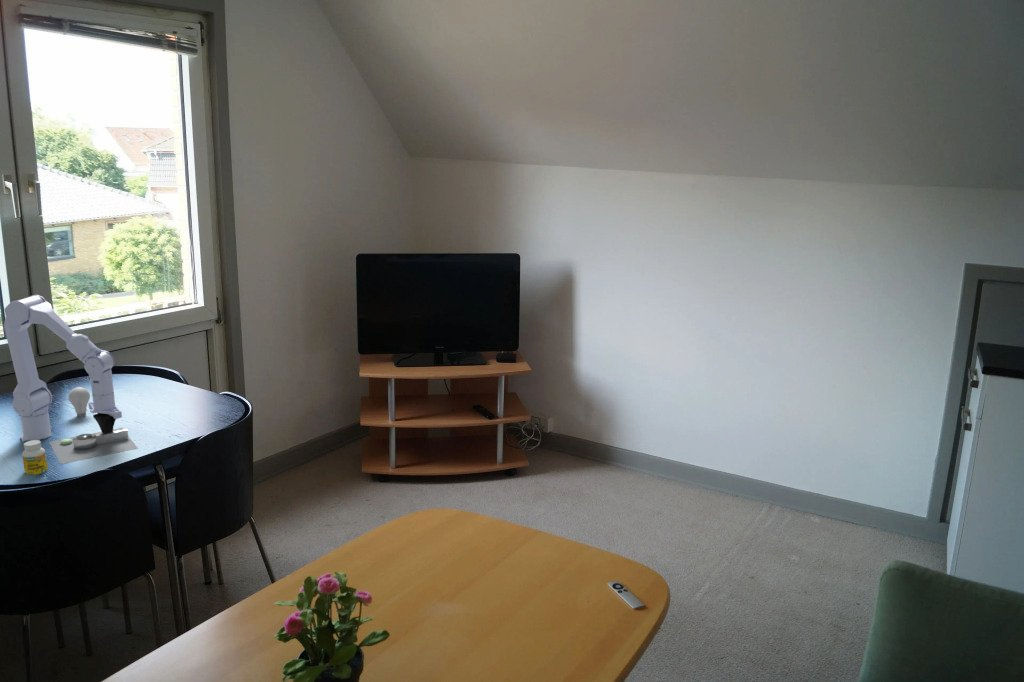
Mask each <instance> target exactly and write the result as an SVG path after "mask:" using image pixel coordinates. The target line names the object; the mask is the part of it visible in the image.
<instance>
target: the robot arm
mask: <svg viewBox="0 0 1024 682" xmlns="http://www.w3.org/2000/svg"><path fill="white" fill-rule="evenodd" d="M3 311H4V314H5V319H4V323H3V328H4V331H5V337H6V339H7V340H6V341H7V345H8V347H9V352H10V356H11V357H10V358H11V360H12V365H13V369H14V372H15V377H16V381H17V384H16V387H15V388H14V390H13V392H12V396H13V399H12V400H13V401H12V408H13V410H14V411H15V413H16V414H17V415H18V417H20V422H21V428H22V435H20V436H19V437H20V439H21V442H22V443H23V442H24V443H25V441H26V442H27V441H33V440H39V441H40V440H43V439H44V440H45V439H47V438H50V436H52V431H51V430H52V429H51V423H50V422H51V421H50V415H49V414H50V413H49V409H50V407H49V406H50V405H51V403H52V401H53V395H52V393H51V391H50V389H48V386H47V383H46V382H45V381H43V380H41V379H40V378H39V373H38V369H37V366H36V365H37V364H36V360H35V356H34V352H33V351H34V350H33V348H32V343H31V339H30V336H29V331H28V328H29V327H30V326H31V325H33V324H35V325H43V326H45V327H46V328H48V329H49V330H50V331H52V332H53V333H54V334H55V335H57V336H58V337H59V338H61V339H62V340H63V341H64V342H65V343H66V344H65V345H66V349H68V351H69V352H70V353H71V354H73V355H74V356H75V357H76V358H77V359H78V360H79V361H81V362H82V363H83V364H84V365H83V367H84V370H85V371H86V373H87V374H88V377H89V378H88V379H89V380H90V389H91V396H92V401H91V402H88V404H87V405H88V409H89V411H90V413H91V414H93V415H92V417H93V418H94V420H95V422H97V424H98V427H99V429H100V430H101V431H100V432H102V433H107V432H112V431H113V430H114V427H115V423H116V420H118V419H120V418H121V419H122V418H123V416H122V415H123V414H122V411H121V410H120V409H119V408H118V406H117V405H116V400H115V392H114V384H113V381H114V380H113V372H112V368H113V367H114V366H115V358H114V356H113V354H111V352H109V351H108V350H103V349H101V348H99V347H98V346H96V345H95V344H94V343H93V342H92V341H91V340H90V338H89V337H88V336H87V335H85V334H83V333H76V332H75V331H74V330H73V329H72V328H71V327H70V326H69V325H68V324H67V323H66V322H65V321H64V320H63V319H62V318H61V317H60V316H59V315H58V313H57V312H55V311H54V309H53V307H52V304H51V303H50V302H48V301H47V300H46V298H45V297H44V296H41V295H39V294H34V295H33V294H32V295H30V296H27V297H24V298H22V299H18V300H13V301H11V302H9V304H8V305H6V307H4V309H3Z"/></svg>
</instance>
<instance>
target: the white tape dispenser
mask: <svg viewBox="0 0 1024 682" xmlns="http://www.w3.org/2000/svg"><path fill="white" fill-rule="evenodd" d="M128 436H129V431H128V428H124V429H123V430H117V431H112V432H107V433H102V434H97V435H95V434H93V433H82V434H78V435H76V436H73V437H74V438H73V444H74V449H77V450H85V449H90V448H93V447H95V446H96V445H97V444H100V443H105V442H110V441H115V440H120V439H125V438H129V437H130V436H129V437H128Z"/></svg>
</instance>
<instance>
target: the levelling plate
mask: <svg viewBox="0 0 1024 682" xmlns="http://www.w3.org/2000/svg"><path fill="white" fill-rule="evenodd" d="M117 430H123V428H122V427H120V428H115V429H114V428H113V431H117ZM92 434H95V435H97V434H102V431H97V432H94V433H92ZM74 437H75V436H73V437H72V436H71V437H66V438H60V439H55V440H51V441H49V442H48V443H49V445H50V447H51V448H52V451H53V453H54V455H55V456H56V458H57V460H58V462H59V464H60V465H65V464H69V463H73V462H79V461H85V460H87V459H88V460H89V459H93V458H99V457H102V456H108V455H114V454H117V453H124V452H128V451H132V450H138V449H139V448H138V446H137V445H136V444H135V442H134V441H133V440H132V438H131V437H130V436H129V435H128V437H129V438H125V439H120V440H115V441H110V442H105V443H100V444H97V445H96V446H95V447H93V448H90V449H85V450H77V449H74V444H73V438H74Z"/></svg>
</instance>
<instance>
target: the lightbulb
mask: <svg viewBox="0 0 1024 682" xmlns="http://www.w3.org/2000/svg"><path fill="white" fill-rule="evenodd" d="M67 396H68V397H67V398H68V400H69V401H68V402H69V403H70V404H71V405H72V406H73V409H74V411H75V413H76V417H77V418H82V417H86V416H87V406H88V405H89V404H88V403H90V402H89V401H90V398H91V394H90V391H89V390H88V389H87V388H85V387H82V386H81V387H80V386H77V387H74V388H73V389H71V390H70V391H69V393H68V395H67Z"/></svg>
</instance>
